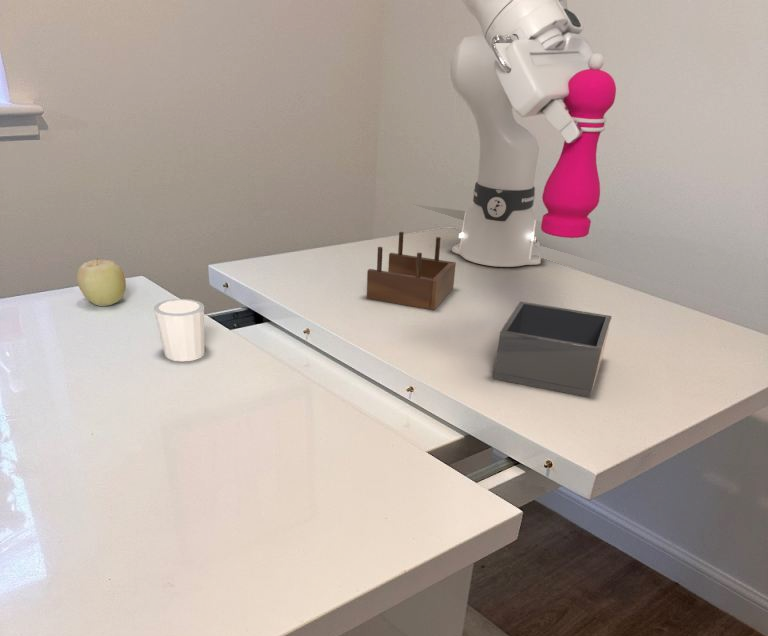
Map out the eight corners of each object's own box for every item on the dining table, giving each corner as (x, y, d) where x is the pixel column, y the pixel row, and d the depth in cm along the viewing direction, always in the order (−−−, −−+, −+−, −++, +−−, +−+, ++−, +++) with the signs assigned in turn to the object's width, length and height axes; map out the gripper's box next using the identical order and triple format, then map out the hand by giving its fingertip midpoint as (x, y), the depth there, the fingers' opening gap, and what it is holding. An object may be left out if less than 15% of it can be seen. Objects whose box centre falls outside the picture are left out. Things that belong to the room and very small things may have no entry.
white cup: (192, 340, 108) (187, 294, 104) (218, 355, 104) (213, 307, 100) (151, 352, 104) (144, 304, 100) (176, 367, 100) (170, 319, 96)
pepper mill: (577, 242, 91) (614, 56, 79) (527, 231, 94) (555, 51, 83) (600, 232, 96) (638, 55, 84) (551, 222, 99) (581, 50, 88)
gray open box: (512, 345, 112) (519, 301, 108) (601, 360, 108) (611, 315, 104) (493, 379, 101) (500, 331, 97) (590, 397, 98) (601, 349, 94)
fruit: (138, 303, 120) (130, 254, 115) (98, 314, 115) (89, 263, 110) (111, 292, 123) (103, 244, 119) (72, 302, 119) (62, 253, 114)
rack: (389, 279, 136) (391, 230, 130) (453, 289, 132) (458, 239, 127) (366, 298, 126) (368, 246, 121) (434, 310, 123) (438, 256, 118)
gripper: (506, 13, 78) (571, 125, 79) (584, 16, 92) (638, 112, 93) (466, 58, 83) (528, 163, 84) (546, 55, 96) (598, 146, 97)
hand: (587, 136), depth 88 cm, fingers closed on pepper mill, 5 cm apart
